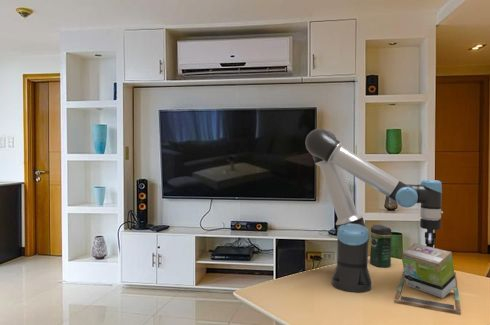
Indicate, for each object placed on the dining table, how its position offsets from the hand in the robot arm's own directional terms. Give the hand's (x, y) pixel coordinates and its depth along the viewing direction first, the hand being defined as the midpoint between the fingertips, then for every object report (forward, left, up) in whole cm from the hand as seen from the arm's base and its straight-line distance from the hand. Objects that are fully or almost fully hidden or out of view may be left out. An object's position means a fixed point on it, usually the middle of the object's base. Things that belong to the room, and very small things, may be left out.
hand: (429, 276), depth 154 cm
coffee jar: (-21, +19, -3) cm, 28 cm away
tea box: (+1, -7, -2) cm, 7 cm away
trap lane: (0, -4, -3) cm, 5 cm away
